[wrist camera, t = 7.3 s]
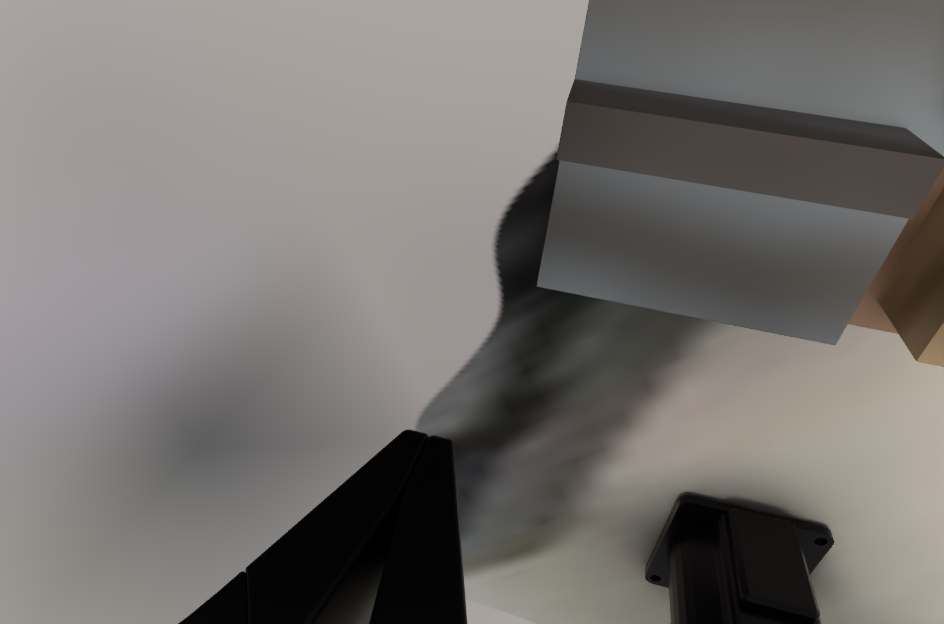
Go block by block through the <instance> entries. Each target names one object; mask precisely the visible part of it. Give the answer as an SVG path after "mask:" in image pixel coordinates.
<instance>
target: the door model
mask: <svg viewBox="0 0 944 624" xmlns="http://www.w3.org/2000/svg"><path fill="white" fill-rule="evenodd" d="M556 160H560V162H559V168H558V173H557V178H556V184H555V189H554V195H553V200H552V206H551V211H550V216H549V222H548V227H547V233H546V238H545V244H544V249H543V254H542V260H541V265H540V271H539V276H538V282H537V287H542V288H547V289H552V290H557V291H562V292H567V293H573V294H578V295H583V296H588V297H593V298H598V299H603V300H608V301H613V302H618V303H623V304H628V305H633V306H638V307H644V308H649V309H654V310H659V311H664V312H669V313H674V314H679V315H684V316H689V317H694V318H699V319H704V320H709V321H715V322H720V323H725V324H730V325H735V326H740V327H745V328H750V329H755V330H760V331H765V332H770V333H775V334H780V335H786V336H791V337H796V338H801V339H806V340H811V341H816V342H821V343H826V344H831V345H836V343H837V341H838V340H839V338H840V336H841V334H842V333H843V331H844V329H845V328H846V326H847V324H851V325H856V326H861V327H867V328H872V329H877V330H882V331H887V332H893V333H898V334H899V335H900V337H901V338H902V340H903V341H904V343H905V345H906V346H907V348H908V349H909V351H910V352H911V354H912V355H913V357H914V358H915V360H916V361H917V362H922V363H927V364H933V365H938V366H943V367H944V0H589V5H588V10H587V15H586V21H585V27H584V32H583V37H582V43H581V48H580V54H579V59H578V64H577V70H576V75H575V80H574V83H573V86H572V88H571V91H570V94H569V97H568V100H567V104H566V109H565V115H564V120H563V126H562V132H561V137H560V143H559V148H558V154H557V159H556Z"/></svg>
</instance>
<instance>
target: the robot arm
mask: <svg viewBox="0 0 944 624" xmlns="http://www.w3.org/2000/svg"><path fill="white" fill-rule="evenodd" d="M688 506H690V507H688ZM833 544H834V540H833V537H832V534H831V531H830V530H829V529H828V528H825V527H822V526H818V525H814V524H809V523H805V522H801V521H797V520H792V519H788V518H784V517H780V516H776V515H771V514H767V513H763V512H759V511H755V510H750V509H746V508H742V507H738V506H733V505H729V504H725V503H721V502H717V501H712V500H708V499H704V498H700V497H696V496H690V495H686V496H682V497H680V498H679V499H678V500H677V503H676V505H675V507H674V509H673V511H672V513H671V515H670V517H669V519H668V522H667V524H666V526H665V528H664V530H663V532H662V534H661V536H660V538H659V541H658V543H657V545H656V547H655V549H654V551H653V553H652V555H651V557H650V560H649V562H648V564H647V566H646V568H645V578H646V580H647V581H648V582H650V583H652V584H656V585H660V586H664V587H668V588H669V595H670V612H671V624H821V621H820V611H819V608H818V604H817V600H816V597H815V593H814V589H813V586H812V582H811V578H810V574H811V572H812V571H813V570H814V569H815V567H816V566H817V565H818V563H819V562H820V561H821V560H822V558H823V557H824V556H825V554H826V553H827V552H828V551H829V549H830V548H831V547H832V545H833ZM179 624H467V615H466V602H465V588H464V575H463V562H462V549H461V536H460V523H459V510H458V497H457V484H456V471H455V458H454V445H453V442H452V440H450V439H446V438H442V437H438V436H430V437H428V435H427V434H425V433H421V432H417V431H413V430H405V431H403V432H402V433H401V434H399V435H398V436H397V437H396V438H395V439H394V440H392V441H391V442H390V443H389V444H388V445H387V446H386V447H385V448H383V449H382V450H381V451H380V452H379V453H377V454H376V455H375V456H374V457H373V458H372V459H371V460H369V461H368V462H367V463H366V464H365V465H364V466H363V467H361V468H360V469H359V470H358V471H357V472H356V473H355V474H353V475H352V476H351V477H350V478H349V479H348V480H346V481H345V482H344V483H343V484H342V485H341V486H339V488H337V489H336V490H335V491H334V492H333V493H331V494H330V495H329V496H328V497H327V498H326V499H325V500H324V501H322V502H321V503H320V504H319V505H318V506H316V507H315V508H314V509H313V510H312V511H311V512H310V513H308V514H307V515H306V516H305V517H304V518H303V519H301V520H300V521H299V522H298V523H297V524H296V525H295V526H293V527H292V528H291V529H290V530H289V531H288V532H287V533H286V534H284V535H283V536H282V537H281V538H280V539H278V540H277V541H276V542H275V543H274V544H273V545H272V546H271V547H269V548H268V549H267V550H266V551H265V552H264V553H262V554H261V555H260V556H259V557H258V558H257V559H256V560H254V561H253V562H252V563H251V564H250V565H249V566H248V567H246V573H245V572H243V571H242V572H240V573H239V574H238V575H237V576H236V577H234V578H233V579H232V580H231V581H230V582H229V583H228V584H227V585H225V586H224V587H223V588H222V589H221V590H220V591H218V592H217V593H216V594H215V595H213V597H211V598H210V599H209V600H207V601H206V602H205V603H204V604H203V605H201V606H200V607H199V608H198V609H197V610H195V611H194V612H193V613H192V614H190V615H189V616H188V617H187V618H185V619H184V620H183V621H181V622H180V623H179Z"/></svg>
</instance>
